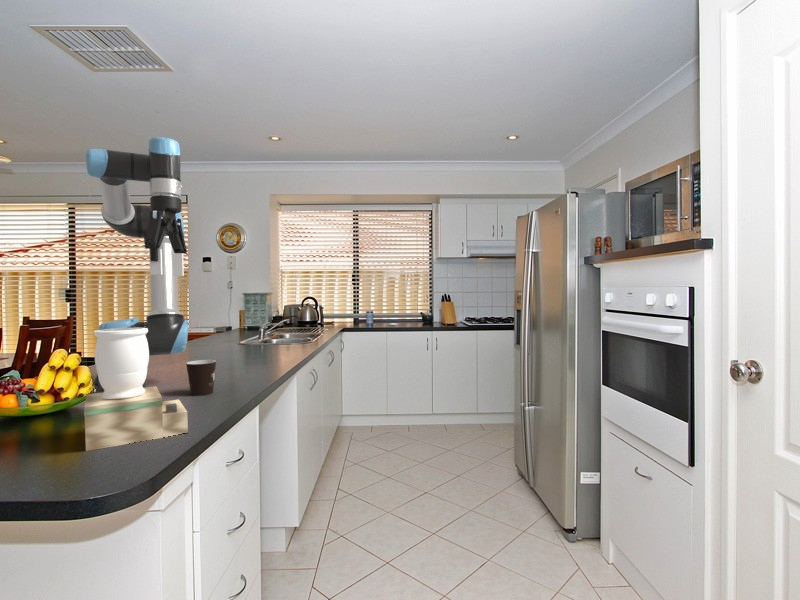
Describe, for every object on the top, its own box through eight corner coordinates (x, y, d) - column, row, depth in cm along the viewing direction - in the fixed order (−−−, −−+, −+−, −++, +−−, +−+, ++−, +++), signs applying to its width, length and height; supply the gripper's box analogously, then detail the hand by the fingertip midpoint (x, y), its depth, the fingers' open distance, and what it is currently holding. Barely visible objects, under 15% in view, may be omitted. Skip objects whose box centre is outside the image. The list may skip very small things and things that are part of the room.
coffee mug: (205, 397, 137) (204, 364, 136) (180, 396, 138) (180, 364, 138) (227, 388, 148) (227, 358, 148) (204, 387, 150) (203, 358, 149)
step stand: (179, 418, 114) (178, 383, 113) (187, 433, 102) (186, 394, 101) (87, 433, 103) (86, 394, 103) (85, 451, 91) (83, 407, 91)
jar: (101, 393, 104) (98, 328, 103) (152, 388, 108) (150, 326, 107) (91, 403, 94) (89, 332, 94) (148, 397, 98) (145, 329, 98)
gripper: (159, 186, 109) (161, 273, 110) (197, 205, 134) (199, 276, 135) (127, 186, 109) (129, 273, 109) (171, 205, 134) (173, 276, 134)
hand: (168, 275), depth 122 cm, fingers open, 13 cm apart
